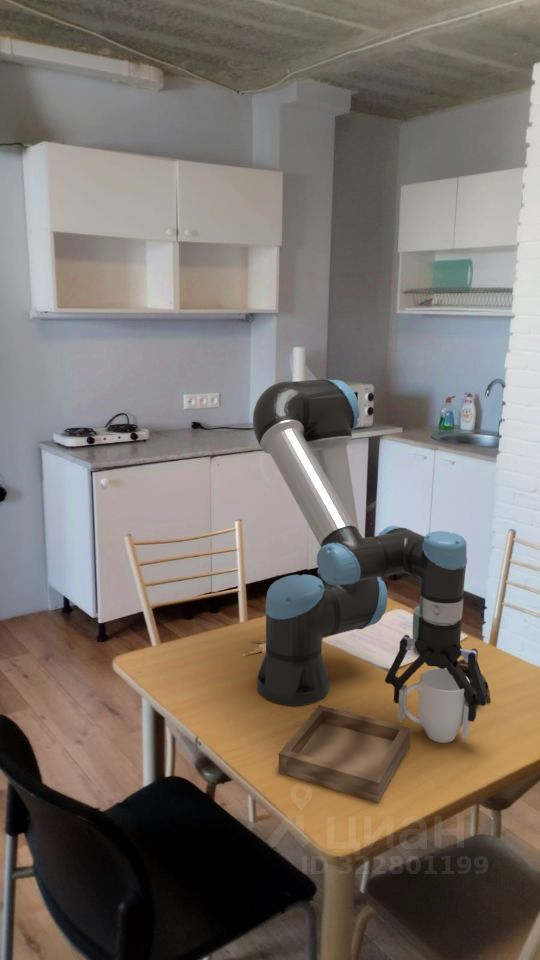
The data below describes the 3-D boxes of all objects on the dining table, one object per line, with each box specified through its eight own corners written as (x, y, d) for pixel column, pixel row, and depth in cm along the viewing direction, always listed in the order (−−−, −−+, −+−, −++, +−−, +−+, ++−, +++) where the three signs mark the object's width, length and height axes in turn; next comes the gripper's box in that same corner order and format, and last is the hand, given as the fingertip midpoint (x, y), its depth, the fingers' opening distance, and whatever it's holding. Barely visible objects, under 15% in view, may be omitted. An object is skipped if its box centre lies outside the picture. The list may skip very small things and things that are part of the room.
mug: (461, 724, 146) (465, 667, 143) (468, 751, 138) (473, 692, 135) (400, 720, 147) (402, 665, 144) (403, 748, 139) (406, 689, 136)
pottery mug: (498, 712, 152) (484, 684, 148) (453, 726, 154) (438, 699, 151) (486, 671, 162) (473, 643, 159) (444, 684, 165) (430, 658, 162)
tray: (278, 772, 131) (278, 753, 130) (318, 722, 147) (319, 704, 146) (378, 802, 123) (379, 782, 122) (409, 746, 139) (410, 728, 138)
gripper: (370, 613, 138) (365, 720, 143) (504, 639, 128) (494, 754, 133) (383, 598, 145) (378, 702, 150) (511, 622, 135) (501, 732, 140)
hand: (432, 726), depth 142 cm, fingers closed on mug, 11 cm apart
